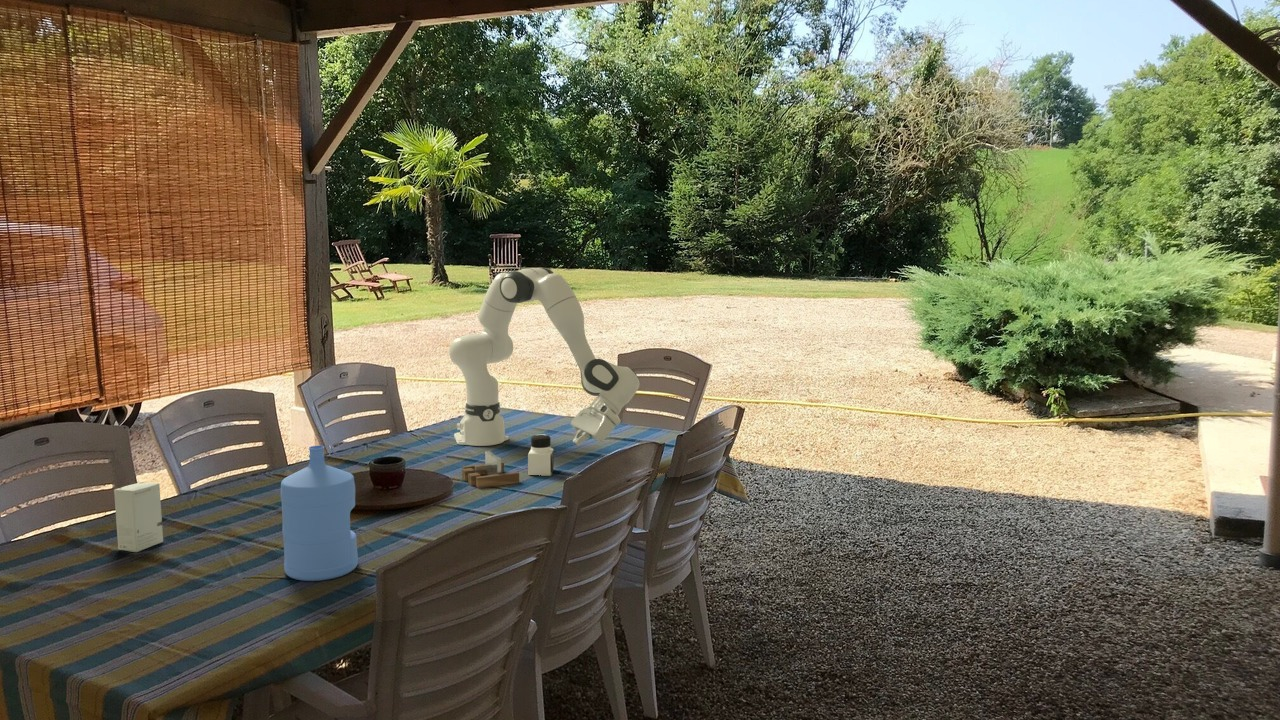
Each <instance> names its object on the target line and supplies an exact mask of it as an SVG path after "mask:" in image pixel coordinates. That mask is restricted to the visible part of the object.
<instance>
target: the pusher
mask: <svg viewBox="0 0 1280 720" xmlns="http://www.w3.org/2000/svg"><path fill="white" fill-rule="evenodd" d="M484 453H485V454H484V455H485V456H484V458H485V459H484V460H485V461H484V464H485V465H479V464H477V465H478V466H475V470H476V471H477V470H485V472H486V474H485V475H486V476H488V475H496V474H502V472H501V462H502V459H501V457H500V456H498V455H496V454H495V453H493V452H492V451H490V450H485V451H484Z"/></svg>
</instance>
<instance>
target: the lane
mask: <svg viewBox="0 0 1280 720" xmlns="http://www.w3.org/2000/svg"><path fill="white" fill-rule="evenodd" d="M478 465H485V463H481V464H470V465H462V467H461V468H462V469H461V476H462V477H461V478H462V480H463V481H464V482H467V483H468V484H469V486H470V487H476V488H477V489H481V488H488V487H489V488H490V487H495V486H496V487H498V486H503V485H504V486H505V485H510V484H511V485H512V484H519V483H520V472H518V471H514V472H505V462H504V461H501V474H496V475H487V474H486V472H485V470H477V471H476V470H475V466H478Z"/></svg>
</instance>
